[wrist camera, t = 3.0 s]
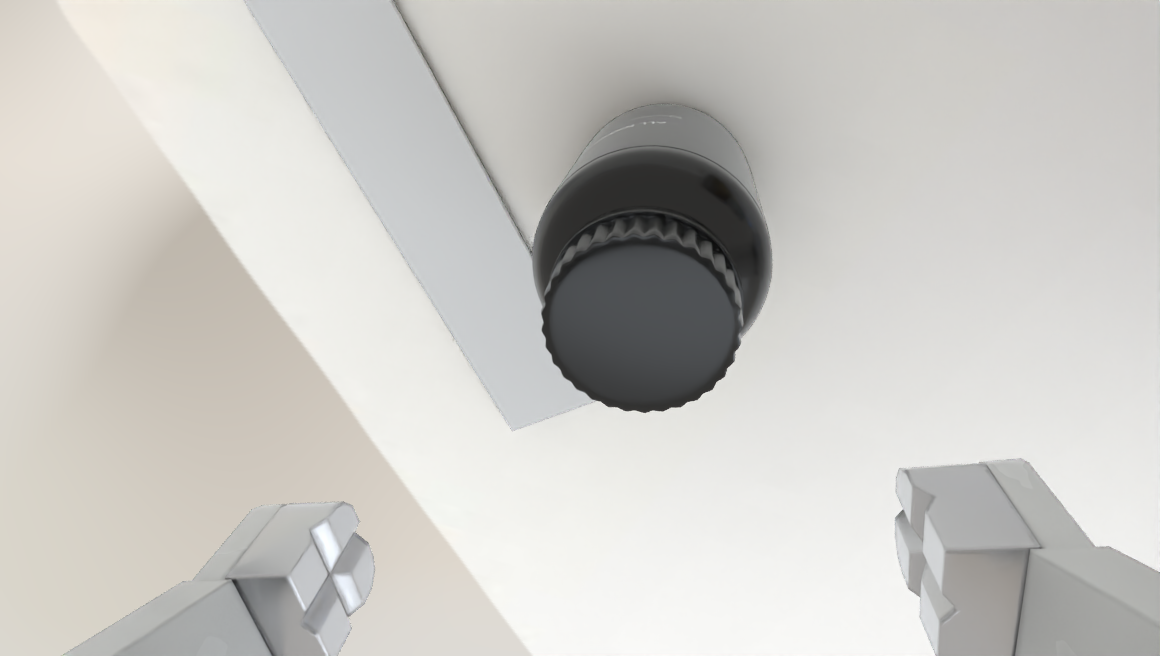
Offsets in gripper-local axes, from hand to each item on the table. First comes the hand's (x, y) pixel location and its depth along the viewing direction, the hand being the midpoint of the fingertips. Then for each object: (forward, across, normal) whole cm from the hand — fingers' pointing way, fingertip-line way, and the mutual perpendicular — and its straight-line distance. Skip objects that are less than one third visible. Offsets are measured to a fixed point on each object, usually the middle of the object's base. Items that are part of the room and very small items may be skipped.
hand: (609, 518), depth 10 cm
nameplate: (+18, +8, -1) cm, 20 cm away
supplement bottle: (+18, 0, 0) cm, 19 cm away
